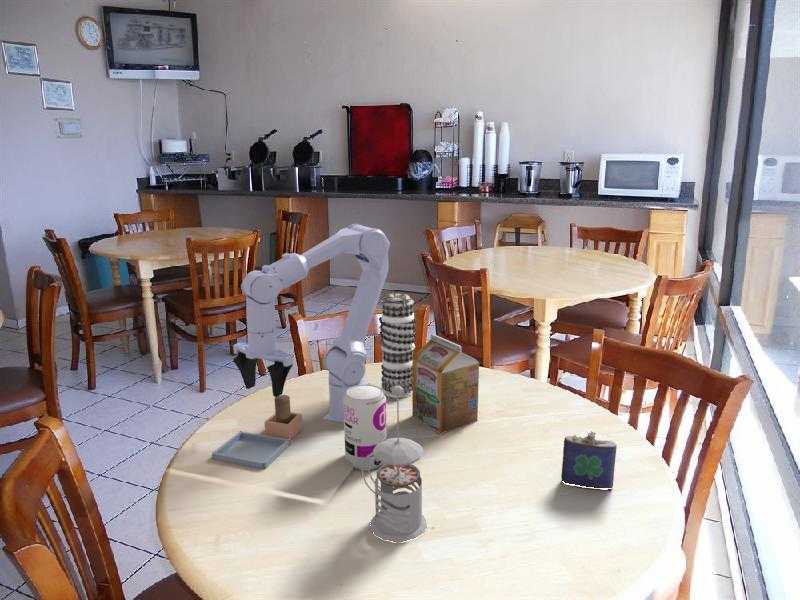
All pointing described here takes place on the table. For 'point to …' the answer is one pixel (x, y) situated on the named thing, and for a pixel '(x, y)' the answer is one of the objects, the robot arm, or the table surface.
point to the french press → (397, 487)
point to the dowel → (282, 409)
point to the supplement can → (364, 424)
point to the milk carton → (444, 385)
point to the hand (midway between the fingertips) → (264, 391)
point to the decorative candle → (397, 343)
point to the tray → (251, 449)
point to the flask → (588, 461)
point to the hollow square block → (283, 426)
